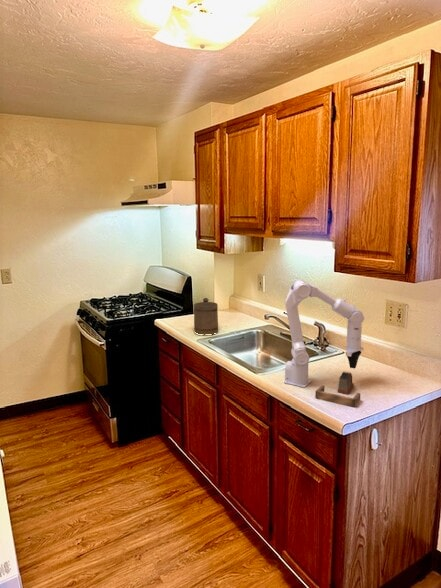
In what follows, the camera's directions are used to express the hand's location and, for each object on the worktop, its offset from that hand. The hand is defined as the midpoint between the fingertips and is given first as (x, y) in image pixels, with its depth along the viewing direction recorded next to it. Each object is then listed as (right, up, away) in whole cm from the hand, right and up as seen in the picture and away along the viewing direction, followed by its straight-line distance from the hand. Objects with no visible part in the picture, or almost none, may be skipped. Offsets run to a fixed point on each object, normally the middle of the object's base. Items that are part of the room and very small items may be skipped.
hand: (352, 367), depth 174 cm
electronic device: (-5, -8, -6) cm, 11 cm away
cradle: (-11, -10, -15) cm, 21 cm away
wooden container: (-65, +7, +81) cm, 104 cm away
